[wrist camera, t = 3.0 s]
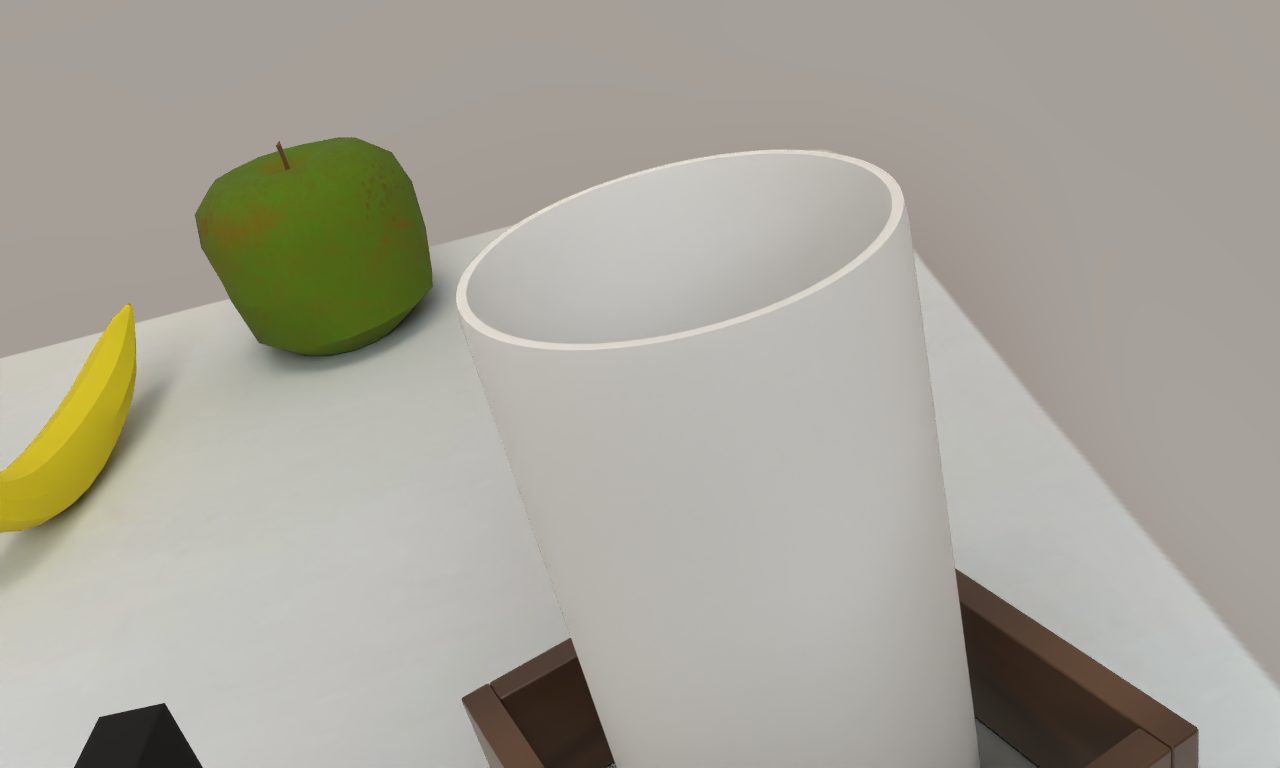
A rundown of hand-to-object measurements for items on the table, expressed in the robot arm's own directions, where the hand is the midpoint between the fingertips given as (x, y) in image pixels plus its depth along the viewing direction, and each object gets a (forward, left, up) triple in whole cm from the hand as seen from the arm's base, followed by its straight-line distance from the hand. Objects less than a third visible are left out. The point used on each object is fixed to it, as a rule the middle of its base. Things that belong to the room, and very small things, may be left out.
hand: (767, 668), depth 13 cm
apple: (+52, -4, -15) cm, 54 cm away
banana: (+47, +11, -15) cm, 50 cm away
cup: (+9, -4, -15) cm, 18 cm away
